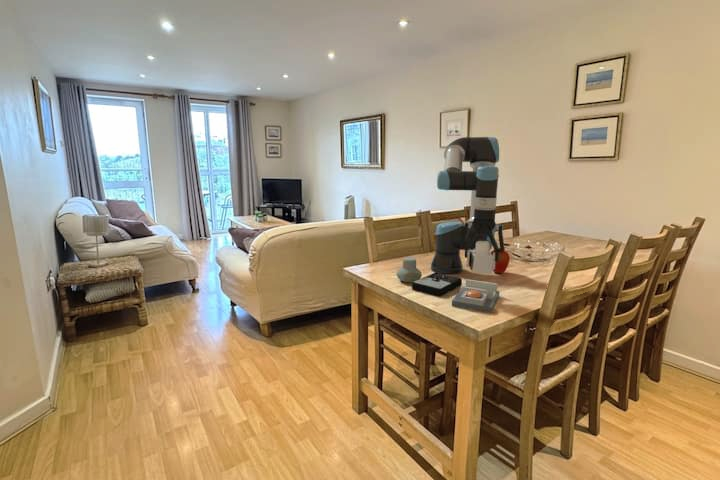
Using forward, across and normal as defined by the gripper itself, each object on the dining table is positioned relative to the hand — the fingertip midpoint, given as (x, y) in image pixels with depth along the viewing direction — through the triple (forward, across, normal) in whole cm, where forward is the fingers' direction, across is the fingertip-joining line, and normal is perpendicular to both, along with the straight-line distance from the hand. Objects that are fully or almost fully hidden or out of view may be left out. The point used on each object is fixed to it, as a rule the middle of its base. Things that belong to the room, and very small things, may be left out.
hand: (480, 267), depth 144 cm
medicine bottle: (+2, 0, 0) cm, 2 cm away
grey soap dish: (+12, 0, -4) cm, 13 cm away
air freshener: (+12, -31, +7) cm, 34 cm away
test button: (+9, 0, -10) cm, 13 cm away
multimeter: (+13, -18, +4) cm, 22 cm away
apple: (+12, +2, +39) cm, 41 cm away
